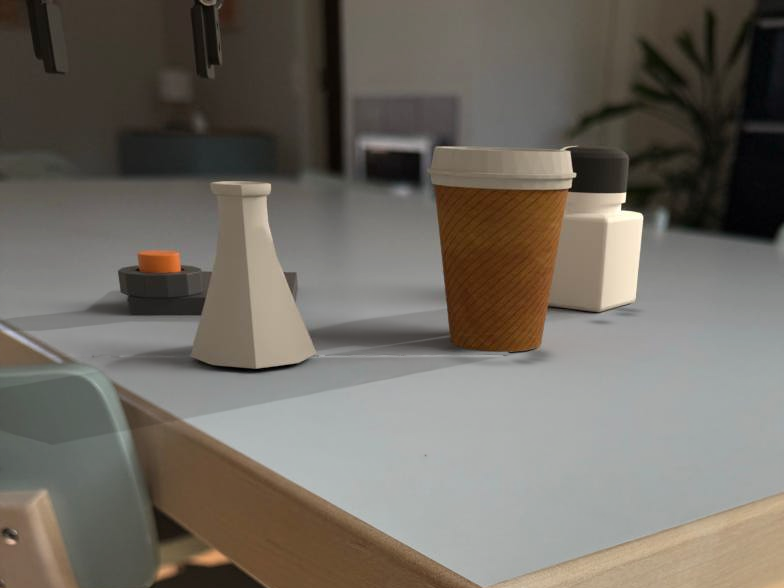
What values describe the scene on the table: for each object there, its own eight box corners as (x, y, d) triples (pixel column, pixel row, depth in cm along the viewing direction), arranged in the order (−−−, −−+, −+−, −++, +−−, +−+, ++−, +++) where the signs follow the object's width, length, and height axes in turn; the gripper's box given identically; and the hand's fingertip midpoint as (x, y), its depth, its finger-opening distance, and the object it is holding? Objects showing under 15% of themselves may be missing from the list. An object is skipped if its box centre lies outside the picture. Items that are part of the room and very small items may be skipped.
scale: (118, 317, 73) (112, 274, 71) (148, 287, 85) (143, 250, 84) (293, 318, 74) (291, 276, 73) (297, 288, 87) (295, 252, 85)
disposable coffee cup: (398, 341, 67) (396, 145, 62) (491, 325, 74) (497, 146, 68) (501, 364, 62) (509, 151, 56) (592, 345, 68) (608, 152, 63)
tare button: (136, 277, 73) (133, 254, 72) (143, 271, 75) (140, 250, 75) (178, 277, 73) (176, 255, 72) (183, 272, 76) (181, 250, 75)
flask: (257, 378, 57) (242, 188, 52) (169, 361, 60) (147, 181, 56) (337, 357, 62) (330, 184, 58) (252, 343, 66) (239, 177, 61)
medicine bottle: (636, 302, 85) (651, 147, 79) (599, 313, 80) (613, 147, 74) (563, 294, 88) (573, 144, 83) (523, 303, 83) (531, 144, 77)
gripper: (-93, -295, 53) (-24, 70, 61) (232, -277, 55) (258, 78, 63) (-40, -250, 60) (16, 75, 68) (249, -234, 61) (270, 82, 69)
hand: (132, 76), depth 65 cm, fingers open, 9 cm apart
